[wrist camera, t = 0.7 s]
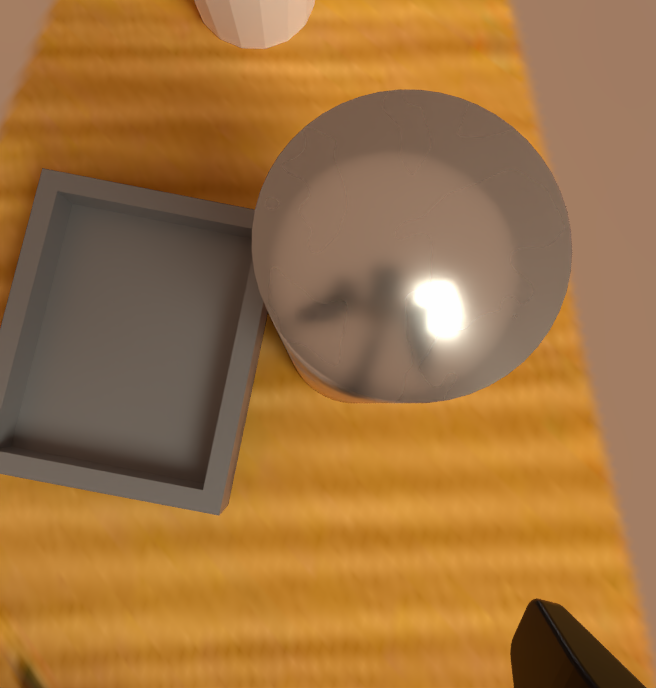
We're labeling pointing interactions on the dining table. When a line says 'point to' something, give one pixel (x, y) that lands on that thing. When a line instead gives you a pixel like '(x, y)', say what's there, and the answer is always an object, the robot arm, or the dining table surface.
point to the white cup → (255, 20)
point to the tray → (130, 343)
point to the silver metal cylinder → (410, 248)
